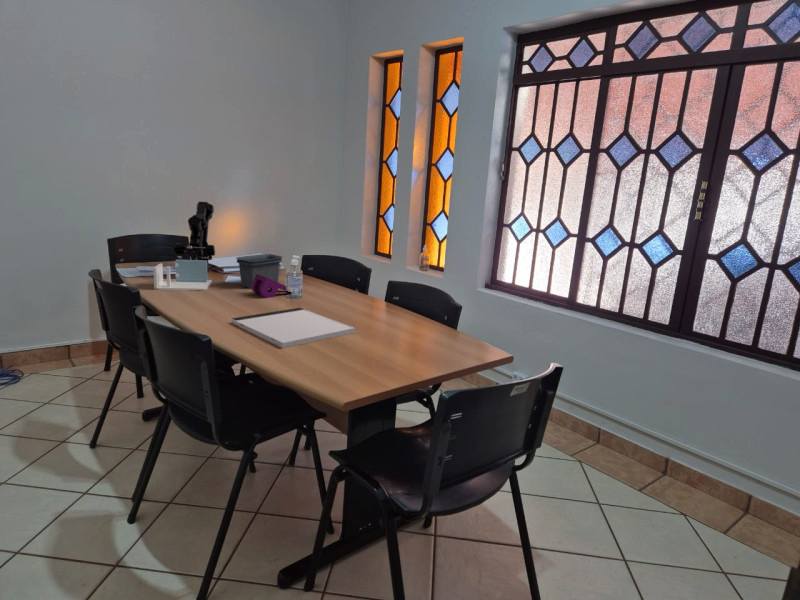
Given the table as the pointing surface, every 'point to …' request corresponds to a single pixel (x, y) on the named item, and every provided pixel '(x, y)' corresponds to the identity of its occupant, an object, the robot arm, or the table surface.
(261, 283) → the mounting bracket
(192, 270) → the door panel
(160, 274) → the cabinet base
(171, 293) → the table surface
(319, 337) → the white flat slab
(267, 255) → the storage bin
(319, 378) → the table surface
